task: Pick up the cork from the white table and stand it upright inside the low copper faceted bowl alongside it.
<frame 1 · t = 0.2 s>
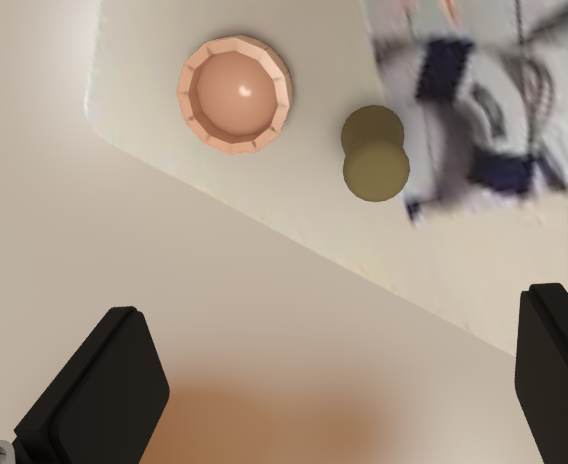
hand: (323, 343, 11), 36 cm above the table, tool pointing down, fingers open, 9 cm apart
cork: (372, 136, 45), on the table
copper faceted bowl: (241, 91, 45), on the table
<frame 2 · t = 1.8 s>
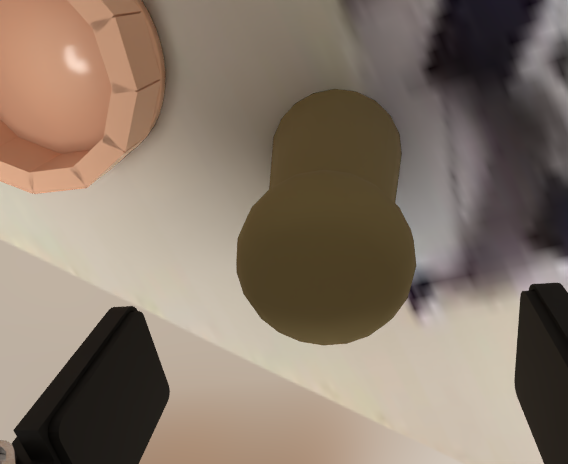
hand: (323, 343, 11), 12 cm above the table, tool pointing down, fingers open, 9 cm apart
cork: (335, 153, 22), on the table
copper faceted bowl: (60, 61, 21), on the table
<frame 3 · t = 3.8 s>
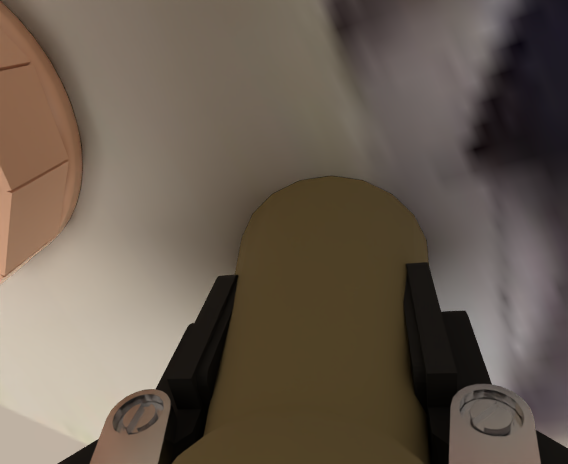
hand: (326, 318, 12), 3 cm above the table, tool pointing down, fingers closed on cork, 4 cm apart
cork: (332, 261, 15), on the table, touching gripper
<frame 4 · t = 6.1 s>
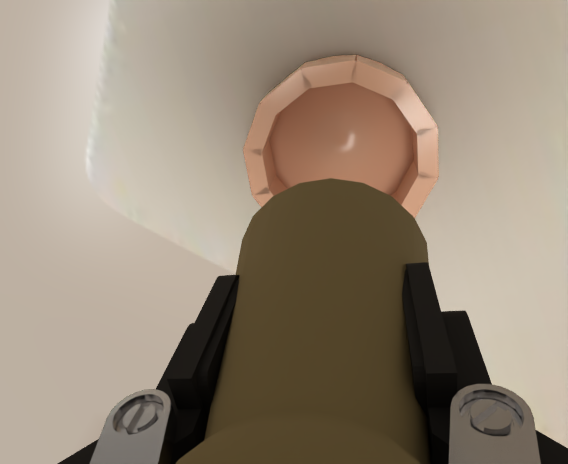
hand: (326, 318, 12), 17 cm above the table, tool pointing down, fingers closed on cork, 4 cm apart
cork: (332, 263, 15), point 14 cm above the table, touching gripper
copper faceted bowl: (341, 144, 27), on the table
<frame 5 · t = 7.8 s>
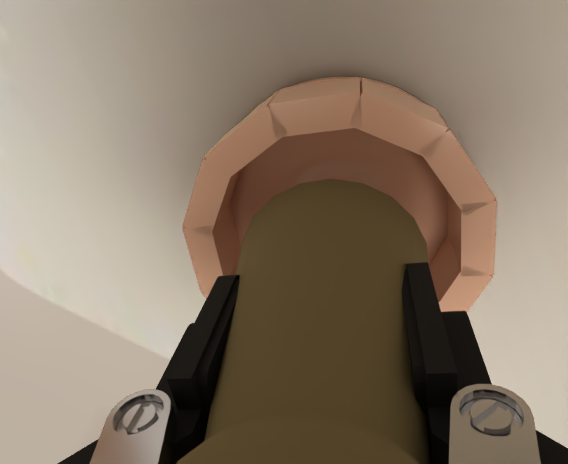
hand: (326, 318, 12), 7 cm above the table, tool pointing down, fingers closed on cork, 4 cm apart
cork: (332, 264, 15), point 4 cm above the table, touching gripper
copper faceted bowl: (337, 207, 18), on the table
when the fingers open (5 cm above the table, at t = 8.9 s): cork drops 1 cm, resting on copper faceted bowl.
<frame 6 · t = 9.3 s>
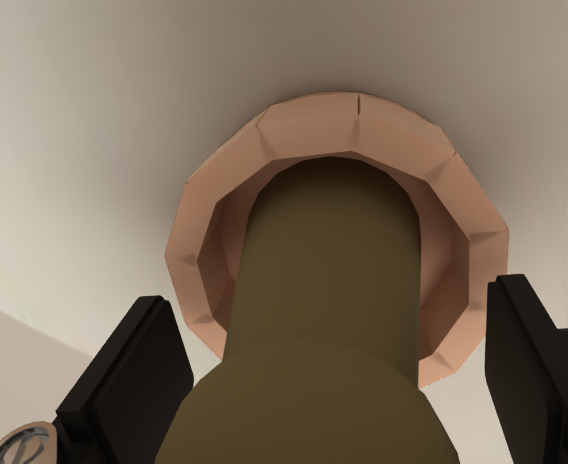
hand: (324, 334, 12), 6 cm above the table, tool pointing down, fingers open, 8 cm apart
cork: (332, 237, 16), point 1 cm above the table, touching copper faceted bowl
copper faceted bowl: (334, 230, 17), on the table
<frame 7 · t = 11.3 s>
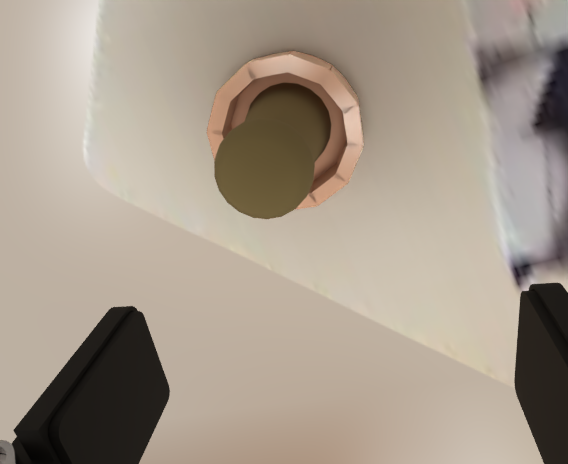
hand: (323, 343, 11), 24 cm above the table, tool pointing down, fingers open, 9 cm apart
cork: (288, 126, 32), point 1 cm above the table, touching copper faceted bowl
copper faceted bowl: (290, 126, 33), on the table
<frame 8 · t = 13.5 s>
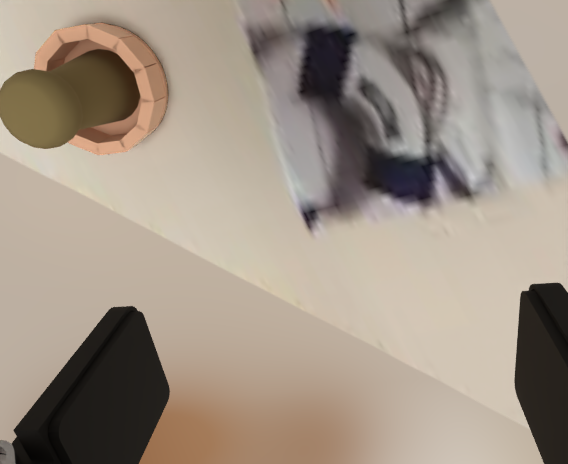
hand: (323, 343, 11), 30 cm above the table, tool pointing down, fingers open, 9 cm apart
cork: (107, 86, 40), point 1 cm above the table, touching copper faceted bowl
copper faceted bowl: (112, 86, 40), on the table
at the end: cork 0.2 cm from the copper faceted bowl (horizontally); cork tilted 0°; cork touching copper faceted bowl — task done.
